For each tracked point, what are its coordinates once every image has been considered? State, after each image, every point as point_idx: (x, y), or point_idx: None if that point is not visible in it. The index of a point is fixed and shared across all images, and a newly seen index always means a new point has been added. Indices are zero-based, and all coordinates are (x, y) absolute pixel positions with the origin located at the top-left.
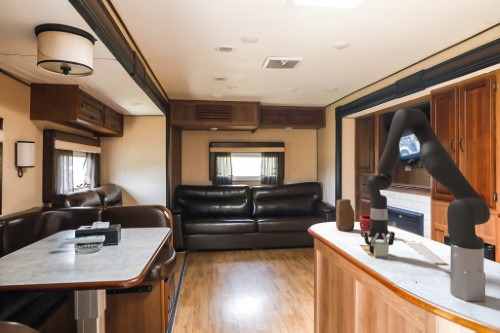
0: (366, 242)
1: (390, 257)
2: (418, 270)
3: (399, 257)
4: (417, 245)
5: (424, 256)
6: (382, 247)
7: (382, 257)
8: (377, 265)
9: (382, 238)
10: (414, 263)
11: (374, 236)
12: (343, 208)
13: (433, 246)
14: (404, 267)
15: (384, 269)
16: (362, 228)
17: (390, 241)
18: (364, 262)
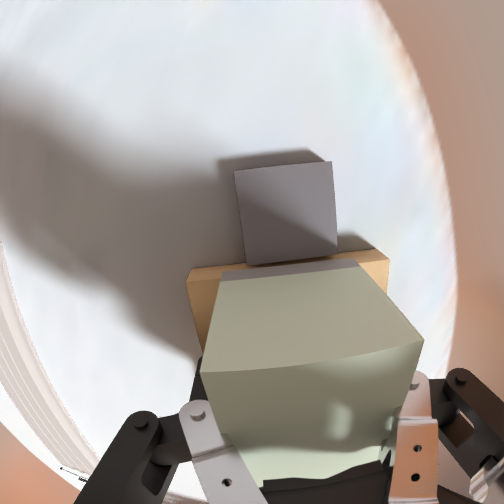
0: (480, 381)
1: (193, 293)
2: (49, 91)
3: (124, 356)
4: (68, 457)
5: (10, 345)
6: (298, 333)
7: (281, 266)
8: (353, 130)
9: (276, 497)
10: (42, 241)
11: (432, 487)
12: None
13: (33, 442)
14: (117, 120)
15: (311, 39)
16: None
17: (148, 454)
18: (434, 201)
